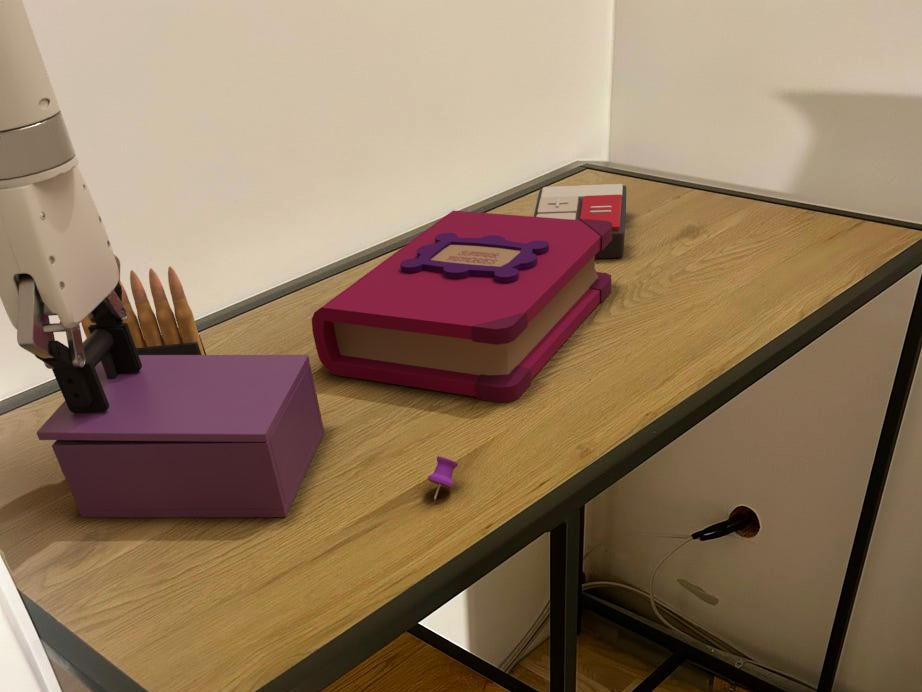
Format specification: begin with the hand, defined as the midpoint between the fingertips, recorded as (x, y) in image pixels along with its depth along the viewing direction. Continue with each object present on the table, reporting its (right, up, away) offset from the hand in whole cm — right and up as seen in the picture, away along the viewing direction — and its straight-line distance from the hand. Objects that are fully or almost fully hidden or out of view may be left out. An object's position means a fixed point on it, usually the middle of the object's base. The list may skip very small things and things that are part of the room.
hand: (107, 388), depth 77 cm
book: (+30, +12, +23) cm, 39 cm away
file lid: (+6, -1, 0) cm, 6 cm away
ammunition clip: (-1, +4, +17) cm, 18 cm away
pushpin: (+27, -9, 0) cm, 29 cm away
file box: (+7, -6, +5) cm, 10 cm away
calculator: (+43, +29, +40) cm, 66 cm away
